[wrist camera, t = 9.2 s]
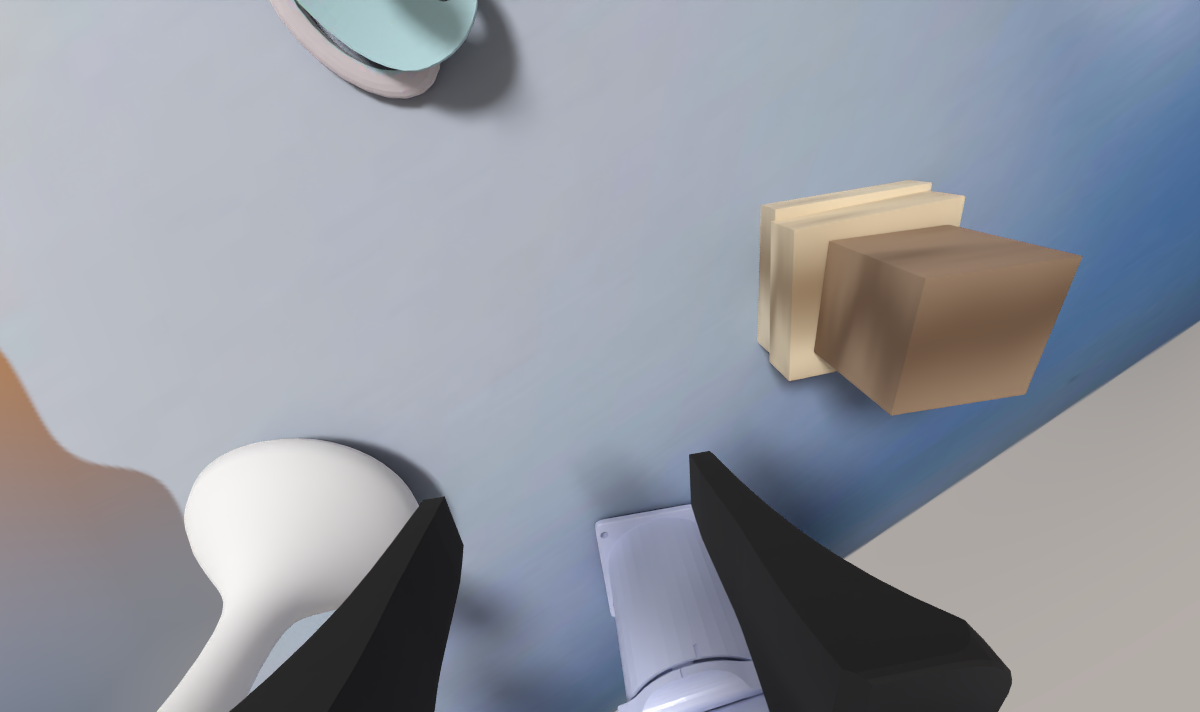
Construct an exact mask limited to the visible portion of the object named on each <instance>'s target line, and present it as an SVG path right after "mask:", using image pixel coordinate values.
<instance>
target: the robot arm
mask: <svg viewBox="0 0 1200 712" xmlns="http://www.w3.org/2000/svg"><path fill="white" fill-rule="evenodd" d="M689 462H690V487H691V504H688V505H682V506H676V507H671V508H665V509H659V510H654V511H648V512H642V513H637V514H631V515H625V516H620V517H614V518H608V519H603V520H599V521H598V522H596V524H595V531H596V536H597V542H598V547H599V552H600V558H601V563H602V569H603V574H604V580H605V585H606V590H607V596H608V601H609V607H610V612H611V615H612V616H613V617H615V618H616V625H617V632H618V639H619V646H620V653H621V660H622V667H623V674H624V681H625V688H626V695H627V703H624V704H622V705H619V706H618V712H998V711H999V709H1000V707H1001V705H1002V704H1003V702H1004V700H1005V698H1006V697H1007V695H1008V693H1009V690H1010V687H1011V684H1012V677H1011V671H1010V670H1009V668H1008V667H1007V666H1006V665H1005V664H1004V663H1003V662H1002V660H1001V659H1000V658H999V657H998V656H997V655H996V653H995V652H994V651H993V650H992V649H991V647H990V646H989V645H988V644H987V643H986V642H985V641H984V639H983V638H982V637H981V636H980V635H979V634H978V633H977V632H976V631H975V630H973V628H972V627H971V626H970V625H969V624H968V623H967V622H966V621H965V620H963V619H961V618H959V617H957V616H954V615H952V614H950V613H948V612H946V611H943V610H941V609H939V608H937V607H934V606H932V605H930V604H928V603H925V602H923V601H921V600H919V599H916V598H914V597H912V596H910V595H908V594H906V593H904V592H902V591H900V590H898V589H896V588H894V587H892V586H891V585H888V584H887V583H885V582H883V581H881V580H879V579H877V578H875V577H873V576H871V575H870V574H868V573H866V572H865V571H863V570H861V569H859V568H858V567H856V566H854V565H853V564H851V563H849V562H847V561H846V560H844V559H842V558H841V557H839V556H837V555H836V554H834V553H833V552H831V551H829V550H828V549H826V548H825V547H823V546H822V545H820V544H819V543H817V542H816V541H814V540H813V539H811V538H810V537H809V536H807V535H806V534H804V533H803V532H802V531H800V530H799V529H797V528H796V527H795V526H793V525H792V524H791V523H789V522H788V521H787V520H786V519H784V518H783V517H782V516H781V515H779V514H778V513H777V512H776V511H774V510H773V509H772V508H771V507H770V506H768V505H767V504H766V503H765V502H764V501H762V500H761V499H760V498H759V497H758V496H757V495H756V494H754V493H753V492H752V491H751V490H750V489H749V488H748V487H747V486H746V485H744V484H743V483H742V482H741V481H740V480H739V479H738V478H737V477H736V476H735V475H734V474H733V473H732V472H731V471H730V470H729V469H728V468H727V467H726V466H725V465H724V464H723V463H722V462H721V461H720V460H719V459H718V458H717V457H716V456H715V455H714V454H713V453H711V452H710V451H707V452H701V453H695V454H690V455H689ZM603 532H606V533H603ZM463 546H464V545H463V543H462V540H461V538H460V535H459V533H458V530H457V527H456V525H455V522H454V520H453V517H452V515H451V512H450V510H449V507H448V504H447V502H446V499H445V497H440V498H434V499H428V500H423V502H422V503H421V504H420V505H419V507H418V508H417V509H416V511H415V512H414V513H413V515H412V516H411V517H410V519H409V520H408V521H407V523H406V524H405V525H404V527H403V528H402V529H401V531H400V532H399V534H398V535H397V536H396V538H395V539H394V540H393V542H392V543H391V544H390V546H389V547H388V548H387V549H386V551H385V552H384V553H383V555H382V556H381V557H380V558H379V560H378V561H377V562H376V564H375V565H374V566H373V567H372V569H371V570H370V571H369V572H368V574H367V575H366V576H365V577H364V578H363V580H362V581H361V582H360V583H359V584H358V586H357V587H356V588H355V589H354V590H353V592H352V593H351V594H350V595H349V596H348V598H347V599H346V600H345V601H344V602H343V603H342V604H341V606H340V607H339V608H338V609H337V610H336V611H335V612H334V613H333V614H332V615H331V617H330V618H329V619H328V620H327V621H326V622H325V623H324V624H323V625H322V626H321V627H320V628H319V629H318V630H317V631H316V632H315V633H314V634H313V635H312V636H311V637H310V638H309V639H308V640H307V641H306V642H305V643H304V644H303V645H302V646H301V647H300V648H299V649H298V650H297V651H296V652H295V653H294V654H293V655H292V656H291V657H290V658H289V659H287V660H286V661H285V662H284V663H283V664H282V665H281V666H280V667H279V668H278V669H277V670H276V671H275V672H274V673H273V674H272V675H271V676H270V677H268V678H267V679H266V680H265V681H264V682H263V683H262V684H261V685H259V686H258V687H257V688H256V689H255V690H254V691H253V692H251V693H250V694H249V695H248V696H247V697H246V698H245V699H243V700H242V701H241V702H240V703H239V704H238V705H236V706H235V707H234V708H233V709H232V710H230V711H229V712H434V711H435V703H436V695H437V688H438V682H439V676H440V671H441V666H442V661H443V657H444V652H445V648H446V643H447V639H448V634H449V630H450V626H451V621H452V617H453V612H454V608H455V603H456V598H457V594H458V589H459V584H460V578H461V569H462V558H463Z"/></svg>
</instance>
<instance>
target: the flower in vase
mask: <svg viewBox="0 0 1200 712" xmlns="http://www.w3.org/2000/svg"><path fill="white" fill-rule="evenodd" d="M418 507H419V505H418V503H417V501H416V499H415V497H414V496H413V494H412V492H411V490H410V489H409V488H408V486H407V485H406V484H405V483H404V481H403V480H402V479H401V478H400V477H399V476H398V475H397V474H396V473H395V472H393V471H392V470H391V469H390V468H388V467H387V466H386V465H384V464H383V463H381V462H380V461H378V460H376V459H375V458H373V457H371V456H369V455H367V454H365V453H363V452H361V451H359V450H356V449H353V448H350V447H348V446H345V445H341V444H337V443H333V442H329V441H323V440H317V439H306V438H286V439H277V440H269V441H263V442H257V443H253V444H249V445H245V446H242V447H239V448H237V449H234V450H231V451H229V452H227V453H225V454H224V455H222V456H220V457H218V458H217V459H215V460H214V461H213V462H212V463H210V464H209V465H208V466H207V467H206V468H205V469H204V470H203V471H202V472H201V473H200V474H199V476H198V478H197V479H196V481H195V483H194V484H193V487H192V490H191V493H190V495H189V498H188V501H187V504H186V507H185V515H184V522H185V529H186V533H187V536H188V539H189V542H190V545H191V548H192V551H193V554H194V555H195V557H196V559H197V561H198V563H199V564H200V566H201V567H202V569H203V570H204V572H205V573H206V575H207V576H208V577H209V579H210V580H211V581H212V583H213V584H214V585H215V586H216V588H217V589H218V591H219V592H220V594H221V596H222V599H223V603H224V605H223V611H222V616H221V618H220V620H219V622H218V624H217V627H216V629H215V631H214V633H213V634H212V636H211V638H210V639H209V641H208V643H207V644H206V646H205V647H204V649H203V651H202V652H201V654H200V656H199V657H198V659H197V660H196V661H195V663H194V664H193V665H192V667H191V668H190V670H189V671H188V672H187V674H186V675H185V677H184V678H183V679H182V681H181V682H180V683H179V685H178V686H177V688H176V689H175V690H174V691H173V693H172V694H171V695H170V696H169V697H168V699H167V700H166V701H165V702H164V704H163V705H162V706H161V707H160V709H159V710H158V711H157V712H229V711H230V710H232V709H233V708H234V707H235V706H236V705H238V704H239V703H240V702H241V701H242V700H243V699H245V698H246V697H247V695H248V693H249V691H250V689H251V687H252V685H253V683H254V681H255V679H256V677H257V675H258V673H259V671H260V669H261V667H262V666H263V664H264V662H265V660H266V659H267V657H268V655H269V654H270V652H271V650H272V649H273V647H274V646H275V644H276V643H277V642H278V640H279V639H280V638H281V636H282V635H283V634H284V632H285V631H286V630H287V629H288V628H289V627H291V626H292V625H293V624H294V623H295V622H297V621H299V620H301V619H303V618H306V617H309V616H312V615H316V614H320V613H324V612H328V611H332V610H336V609H338V608H339V607H340V606H341V604H342V603H343V602H344V601H345V600H346V599H347V598H348V596H349V595H350V594H351V593H352V592H353V590H354V589H355V588H356V587H357V586H358V584H359V583H360V582H361V581H362V580H363V578H364V577H365V576H366V575H367V574H368V572H369V571H370V570H371V569H372V567H373V566H374V565H375V564H376V562H377V561H378V560H379V558H380V557H381V556H382V555H383V553H384V552H385V551H386V549H387V548H388V547H389V546H390V544H391V543H392V542H393V540H394V539H395V538H396V536H397V535H398V534H399V532H400V531H401V529H402V528H403V527H404V525H405V524H406V523H407V521H408V520H409V519H410V517H411V516H412V515H413V513H414V512H415V511H416V509H417V508H418Z"/></svg>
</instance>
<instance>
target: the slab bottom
mask: <svg viewBox="0 0 1200 712" xmlns="http://www.w3.org/2000/svg"><path fill="white" fill-rule="evenodd" d="M931 185H932V183H930V182H921V181H912V180H906V181H900V182H894V183H888V184H882V185H876V186H870V187H864V188H858V189H853V190H847V191H841V192H835V193H829V194H823V195H817V196H811V197H805V198H799V199H793V200H788V201H782V202H776V203H770V204H764V205H761V224H760V264H759V305H758V343H759V344H761V345H762V346H763V347H764V348H765V349H766V350H767V351H768V352H769V353H770V268H771V221H776V220H782V219H787V218H792V217H797V216H802V215H807V214H812V213H817V212H822V211H827V210H832V209H837V208H842V207H847V206H852V205H857V204H862V203H867V202H872V201H877V200H882V199H887V198H892V197H897V196H902V195H907V194H912V193H917V192H922V191H930V190H931Z"/></svg>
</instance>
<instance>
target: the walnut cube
mask: <svg viewBox="0 0 1200 712" xmlns="http://www.w3.org/2000/svg"><path fill="white" fill-rule="evenodd" d="M1082 257H1083V256H1080V255H1076V254H1071V253H1067V252H1063V251H1059V250H1054V249H1050V248H1046V247H1042V246H1037V245H1033V244H1029V243H1025V242H1020V241H1016V240H1012V239H1008V238H1003V237H999V236H995V235H991V234H986V233H982V232H978V231H974V230H969V229H965V228H961V227H957V226H952V225H942V226H934V227H927V228H920V229H912V230H905V231H898V232H891V233H883V234H876V235H869V236H861V237H854V238H847V239H840V240H832V241H829V246H828V253H827V261H826V268H825V275H824V282H823V289H822V296H821V304H820V311H819V318H818V325H817V332H816V339H815V347H814V352H815V353H816V354H817V355H818V356H820V357H821V358H822V359H823V360H824V361H826V362H827V363H828V364H829V365H831V366H832V367H833V368H834V369H835V370H837V371H838V372H839V373H840V374H841V375H843V376H844V377H845V378H846V379H848V380H849V381H850V382H851V383H852V384H854V385H855V386H856V387H857V388H858V389H860V390H861V391H862V392H863V393H864V394H866V395H867V396H868V397H869V398H871V399H872V400H873V401H874V402H875V403H877V404H878V405H879V406H880V407H881V408H883V409H884V410H885V411H886V412H887V413H889V414H890V415H897V414H904V413H910V412H916V411H923V410H929V409H935V408H941V407H948V406H954V405H960V404H967V403H973V402H979V401H986V400H992V399H998V398H1005V397H1011V396H1017V395H1023V394H1025V393H1026V391H1027V389H1028V386H1029V384H1030V381H1031V379H1032V377H1033V374H1034V372H1035V369H1036V367H1037V365H1038V362H1039V360H1040V357H1041V355H1042V353H1043V350H1044V348H1045V345H1046V343H1047V341H1048V338H1049V336H1050V333H1051V331H1052V329H1053V326H1054V324H1055V321H1056V319H1057V317H1058V314H1059V312H1060V309H1061V307H1062V305H1063V302H1064V300H1065V297H1066V295H1067V293H1068V290H1069V288H1070V285H1071V283H1072V281H1073V278H1074V276H1075V273H1076V271H1077V269H1078V266H1079V264H1080V261H1081V259H1082Z"/></svg>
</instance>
